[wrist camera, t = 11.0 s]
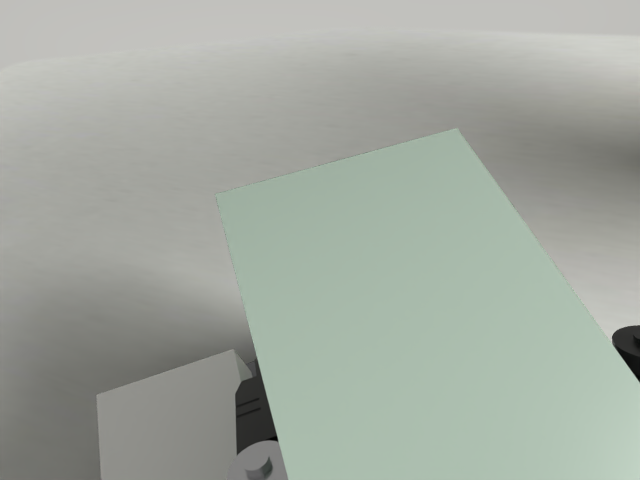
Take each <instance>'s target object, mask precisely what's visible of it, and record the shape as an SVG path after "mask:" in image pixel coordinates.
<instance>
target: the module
mask: <svg viewBox="0 0 640 480" xmlns="http://www.w3.org/2000/svg"><path fill="white" fill-rule="evenodd" d="M215 196H216V200H217V204H218V208H219V212H220V216H221V220H222V223H223V227H224V231H225V235H226V239H227V243H228V247H229V251H230V255H231V258H232V262H233V266H234V270H235V274H236V278H237V282H238V286H239V289H240V293H241V297H242V301H243V305H244V309H245V313H246V317H247V321H248V324H249V328H250V332H251V336H252V340H253V344H254V348H255V352H256V356H257V359H258V363H259V367H260V371H261V375H262V379H263V383H264V387H265V390H266V394H267V398H268V402H269V406H270V410H271V414H272V418H273V422H274V425H275V429H276V433H277V437H278V441H279V445H280V449H281V453H282V457H283V460H284V464H285V468H286V472H287V476H288V480H640V382H639V381H638V380H637V378H636V377H635V375H634V374H633V373H632V371H631V370H630V368H629V367H628V366H627V364H626V363H625V361H624V360H623V359H622V357H621V356H620V354H619V353H618V352H617V350H616V349H615V347H614V346H613V345H612V343H611V342H610V340H609V339H608V338H607V336H606V335H605V334H604V332H603V331H602V329H601V328H600V327H599V325H598V324H597V322H596V321H595V320H594V318H593V317H592V315H591V314H590V313H589V311H588V310H587V308H586V307H585V306H584V304H583V303H582V301H581V300H580V299H579V297H578V296H577V294H576V293H575V292H574V290H573V289H572V287H571V286H570V285H569V283H568V282H567V280H566V279H565V278H564V276H563V275H562V273H561V272H560V271H559V269H558V268H557V266H556V265H555V264H554V262H553V261H552V260H551V258H550V257H549V255H548V254H547V253H546V251H545V250H544V248H543V247H542V246H541V244H540V243H539V241H538V240H537V239H536V237H535V236H534V234H533V233H532V232H531V230H530V229H529V227H528V226H527V225H526V223H525V222H524V220H523V219H522V218H521V216H520V215H519V213H518V212H517V211H516V209H515V208H514V206H513V205H512V204H511V202H510V201H509V199H508V198H507V197H506V195H505V194H504V192H503V191H502V190H501V188H500V187H499V186H498V184H497V183H496V181H495V180H494V179H493V177H492V176H491V174H490V173H489V172H488V170H487V169H486V167H485V166H484V165H483V163H482V162H481V160H480V159H479V158H478V156H477V155H476V153H475V152H474V151H473V149H472V148H471V146H470V145H469V144H468V142H467V141H466V139H465V138H464V137H463V135H462V134H461V132H460V131H459V130H458V128H455V129H451V130H447V131H444V132H440V133H436V134H433V135H429V136H425V137H422V138H418V139H414V140H411V141H407V142H403V143H400V144H396V145H392V146H389V147H385V148H381V149H378V150H374V151H370V152H367V153H363V154H359V155H356V156H352V157H348V158H345V159H341V160H337V161H334V162H330V163H326V164H323V165H319V166H315V167H312V168H308V169H304V170H301V171H297V172H293V173H290V174H286V175H282V176H279V177H275V178H271V179H268V180H264V181H260V182H257V183H253V184H249V185H246V186H242V187H238V188H235V189H231V190H227V191H224V192H220V193H216V194H215Z"/></svg>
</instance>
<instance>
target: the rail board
mask: <svg viewBox="0 0 640 480" xmlns="http://www.w3.org/2000/svg"><path fill="white" fill-rule="evenodd" d="M255 376H256V367H255V361H253V362H250V363H248V364H245V363H244V362H243V361H242V359H241V358H240V357H239V355H238V354H237V353H236V351H235V350H234V349H231V350H228V351H225V352H222V353H219V354H216V355H213V356H210V357H207V358H204V359H201V360H198V361H195V362H192V363H189V364H186V365H183V366H180V367H177V368H174V369H171V370H168V371H165V372H162V373H159V374H156V375H153V376H150V377H148V378H145V379H142V380H139V381H136V382H133V383H130V384H127V385H124V386H121V387H118V388H115V389H112V390H109V391H106V392H103V393H100V394H97V395H96V400H97V419H98V437H99V455H100V473H101V480H227V472H228V469H229V467H230V465H231V463H232V461H233V460H234V459H235V457H236V456H237V449H236V411H235V409H236V407H235V393H236V391H237V389H238V387H239V385H240V383H241V381H243V380H246V379H249V378H252V377H255Z"/></svg>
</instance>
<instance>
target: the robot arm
mask: <svg viewBox="0 0 640 480" xmlns="http://www.w3.org/2000/svg"><path fill="white" fill-rule="evenodd" d="M612 344H613V346H614V347H615V349H616V350H617V352H618V353H619V354H620V356H621V357H622V359H623V360H624V361H625V363H626V364H627V366H628V367H629V368H630V370H631V371H632V373H633V374H634V375H635V377H636V378H637V380H638V381H639V382H640V325H638V326H628V327H624V328H621V329H619V330H617V331H616V332H615V333H614V334H613V336H612ZM255 367H256V376H255V377H252V378H249V379H246V380H243V381H241V383H240V385H239V387H238V389H237V391H236V393H235V407H236V409H235V411H236V449H237V456H236V457H235V459H234V460H233V461H232V463H231V465H230V467H229V469H228V472H227V480H288V476H287V472H286V468H285V464H284V460H283V457H282V453H281V449H280V445H279V441H278V437H277V433H276V429H275V425H274V422H273V418H272V414H271V410H270V406H269V402H268V398H267V394H266V390H265V387H264V383H263V379H262V375H261V371H260V367H259V363H258V359H257V358H256V359H255Z"/></svg>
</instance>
